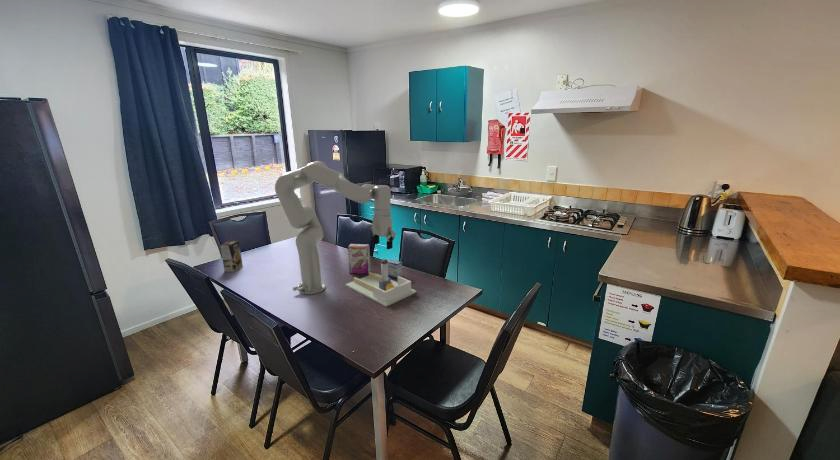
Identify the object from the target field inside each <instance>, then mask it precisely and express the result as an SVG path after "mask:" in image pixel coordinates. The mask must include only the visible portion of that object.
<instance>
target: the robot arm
mask: <svg viewBox="0 0 840 460" xmlns="http://www.w3.org/2000/svg"><path fill="white" fill-rule="evenodd" d="M313 183H317V184H318V185H320V186H323V187H326V188H329V189H331V190H333V191H335V192H336V193H338V194H340V195H341V196H342V197H344V198H346V199H348V200H351V201H353V202H355V203H359V204H366V203H368V202H370V201H371V200H374V201H373V203H374V204H373V205H374V210H373V211H374V213H373V217H372V225H370V230H371V233H372V237H373V245H377V244H380V237H382V238H385V239H386V250H390V249H393V245H394V244H393V241H394V239H395V238H396V234H397V233H396V232H395V231H394V230H393V219H392V215H391V211H392V210H391V187H390V186H389V185H386V184H379V185H378V184H377V185H376V184H370V183H365V184H362V185H359V184H356V183H354V182H351V181H350V180H348V179H347V178H346V177H345V176H344V174H343V173H342V172H340V171H337V170H335V169H333V168H330V167H328V165H327V164H326V163H325V162H323V161H320V160H316V161H313V162H310V163H307V164H306V165H305V166H303V167H300V168H298V169H295V170H292V171H287V172H285V173H283V174H280V176H279V177H278V178H277V179H276V181H275V183H274V192H275V194H276V196H277V198H278V201H279V202H280V205H281V207H282V209H283V211H284V213H285V216H286V218H287V220H288V222H289V224H290V225H291V227H292V228H293V229H296V230H298V229H299V230H300V229H302V230H301V231H300V232H298V233H297V236H296V238H295V246H296V249H297V254H298V258H299V267H300V268H299V269H300V276H301V277H300V278H301V281H299V284H298V285H296V286H292V290H293V292H296V291H298V292H299V293H300V294H303V295H316V294H319V293H321V292H323V291H325V289H326V285H325V283H324V282H322V274H321V272H322V271H321V262H320V261H321V260H320V254H319V253H320V252H319V250H318V246H317V245H319V243H320V242H321V241H322V239H323V238H324V230H323V227H322V225H321V223H320V221H319V219H318V215H317V214H316V212H315V210H314V209H313V207H311V206H309V205H306V204H305V205H302V203H301V202H302V201H301V199H300V198H299V196H298V195H297V194H296V192H295V191H296V190H297V189H301V188H302V187H305V186H307V185H309V184H313Z"/></svg>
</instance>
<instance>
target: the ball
mask: <svg viewBox="0 0 840 460" xmlns="http://www.w3.org/2000/svg"><path fill="white" fill-rule="evenodd" d="M392 288H394V285H393V284H391V283H389V284H387V285H386V287H385V289H386V291H387V290H389V289H392Z"/></svg>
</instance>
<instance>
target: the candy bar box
mask: <svg viewBox="0 0 840 460" xmlns="http://www.w3.org/2000/svg"><path fill="white" fill-rule="evenodd" d="M347 249H348V251H347V252H348V269H349V274H359V275H362V274H363V275H369V272H371V254H370V253H371V252H370V251H371V249H370V244H368V243H367V244H363V243H362V244H360V243H350V244H349V245H348V246H347Z"/></svg>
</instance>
